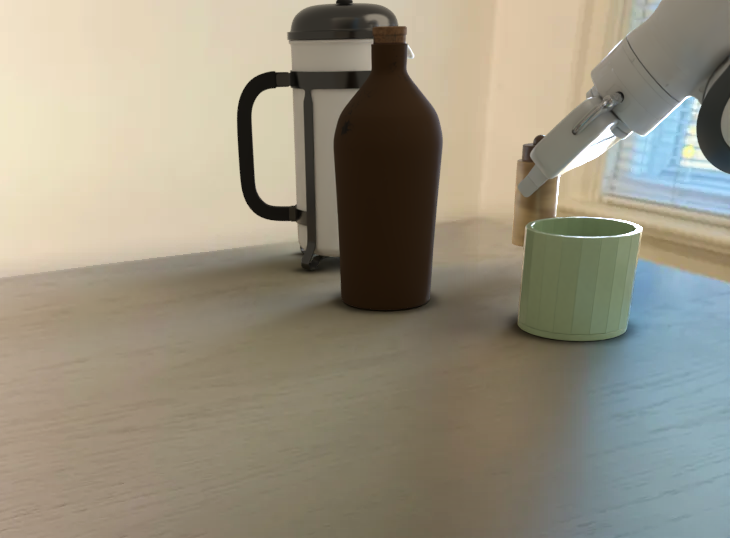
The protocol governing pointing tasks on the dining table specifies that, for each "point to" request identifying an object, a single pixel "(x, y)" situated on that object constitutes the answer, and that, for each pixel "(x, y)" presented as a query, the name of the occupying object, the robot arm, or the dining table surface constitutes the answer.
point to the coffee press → (314, 115)
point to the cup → (578, 277)
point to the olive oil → (387, 183)
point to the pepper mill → (532, 197)
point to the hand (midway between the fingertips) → (531, 188)
